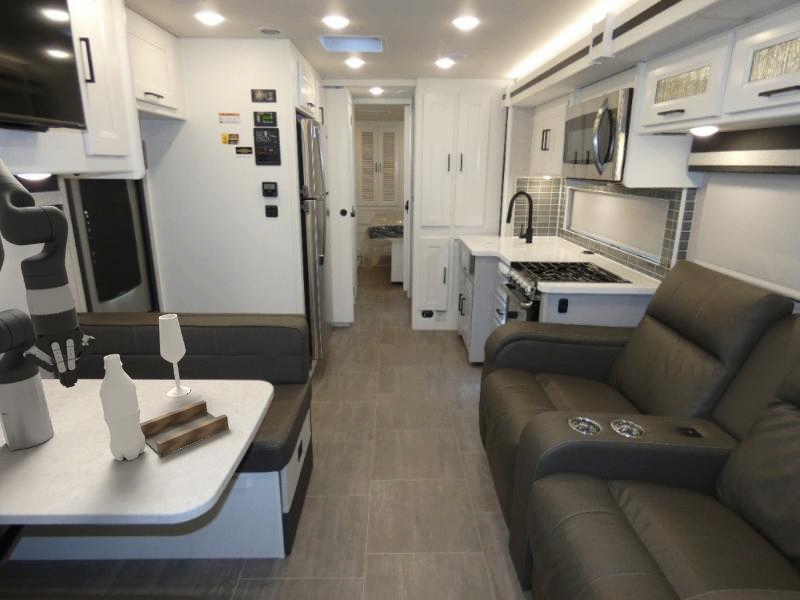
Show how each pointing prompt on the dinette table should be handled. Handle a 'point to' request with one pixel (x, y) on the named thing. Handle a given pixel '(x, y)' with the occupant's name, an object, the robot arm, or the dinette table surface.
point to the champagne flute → (172, 349)
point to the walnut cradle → (182, 428)
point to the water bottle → (121, 411)
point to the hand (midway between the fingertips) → (69, 386)
